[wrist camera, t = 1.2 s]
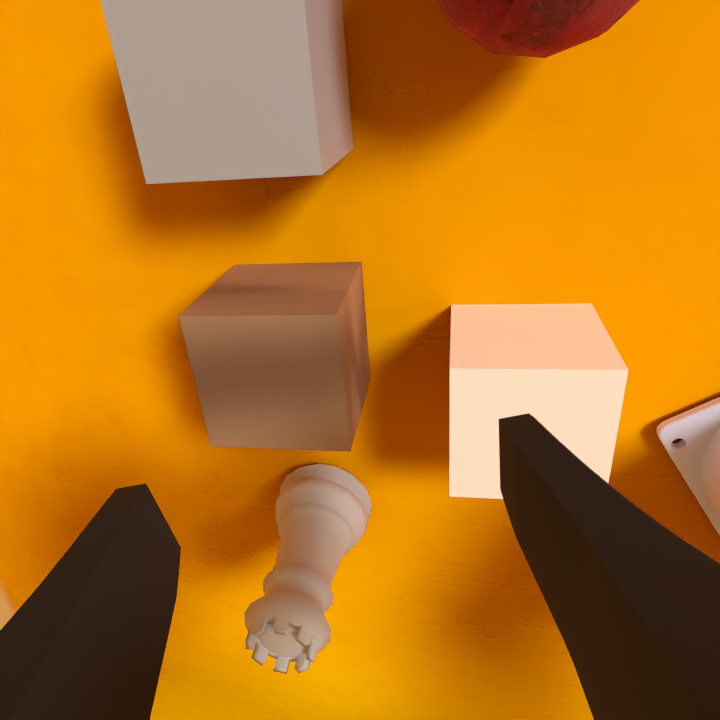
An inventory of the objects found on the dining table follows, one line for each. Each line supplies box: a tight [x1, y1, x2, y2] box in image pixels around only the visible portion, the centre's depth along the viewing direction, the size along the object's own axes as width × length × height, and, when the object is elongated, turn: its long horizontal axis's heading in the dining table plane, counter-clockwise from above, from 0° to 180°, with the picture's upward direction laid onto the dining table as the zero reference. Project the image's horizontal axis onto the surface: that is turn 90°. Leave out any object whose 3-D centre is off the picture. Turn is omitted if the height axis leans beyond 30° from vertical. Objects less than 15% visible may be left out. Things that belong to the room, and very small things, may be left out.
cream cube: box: [449, 304, 628, 499], centre depth 19 cm, size 5×5×5 cm
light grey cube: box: [101, 0, 353, 184], centre depth 16 cm, size 5×5×5 cm
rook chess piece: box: [245, 463, 372, 674], centre depth 23 cm, size 4×4×8 cm
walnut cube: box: [179, 262, 370, 451], centre depth 20 cm, size 5×5×5 cm
